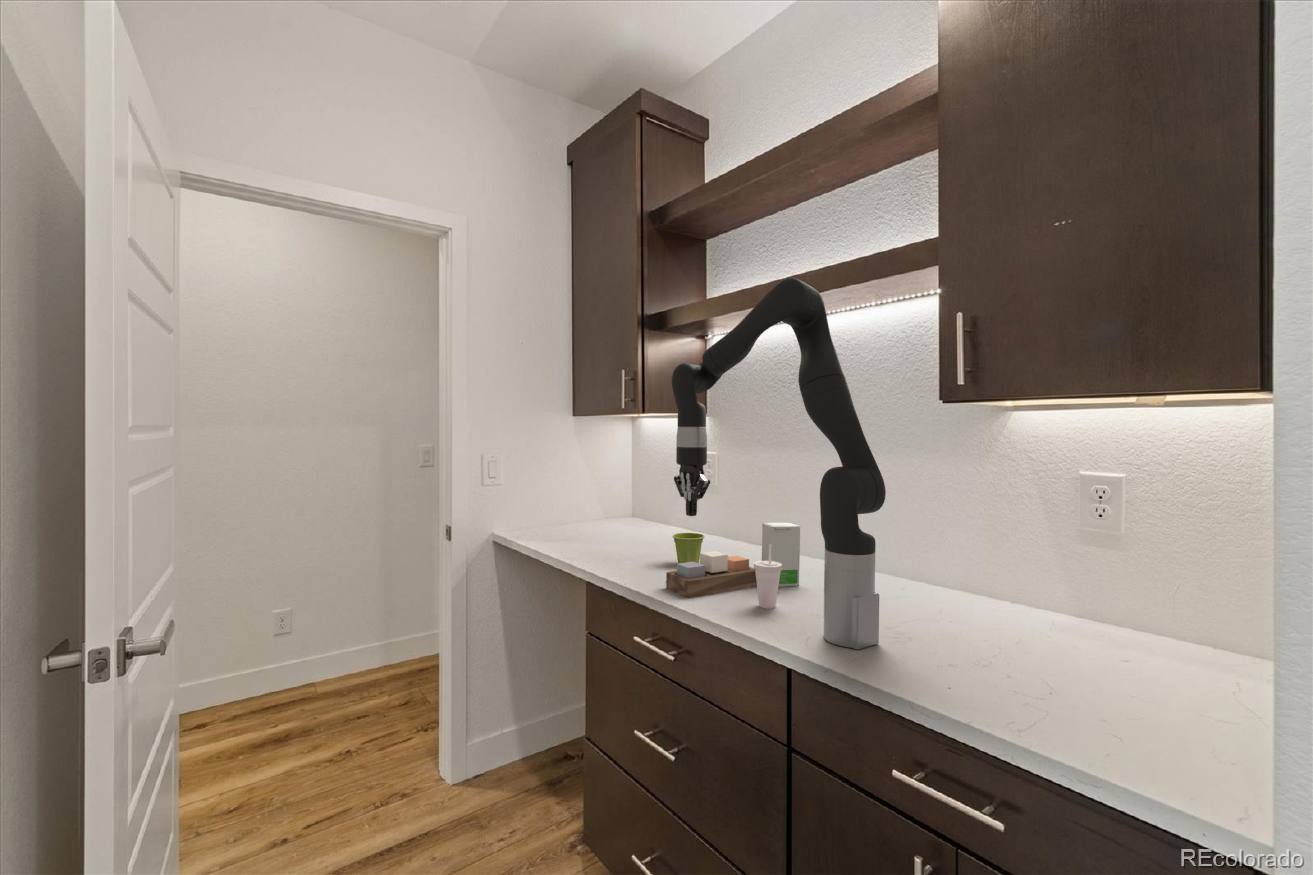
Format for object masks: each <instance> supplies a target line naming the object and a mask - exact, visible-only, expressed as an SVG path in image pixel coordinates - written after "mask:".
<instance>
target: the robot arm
mask: <svg viewBox="0 0 1313 875" xmlns="http://www.w3.org/2000/svg"><path fill="white" fill-rule="evenodd" d="M828 321H829V320H828V317H827V311H826V305H825V302H824V300H823V296H822V295H821V294H820V292H819V291H818V290H817V289H816V288H814V287H813V286H811V285H809V284H808V283H806V282H804V281H803V280H800V279H798V278H795V277H789V278H785V279H782V280H781V281H780V282H778V283H777V284H775V285H774V286H773V287H772V288H771V289H770V290H769V292H767V293H766V294H765V296H763V297H762V299H761V300H760V301H759V302H757V304H756V305H755V306H754V307H753V308H752V309H751V310H750V311H749V312H748V313H747V314H746V316H745V317H744V318H743V319H742V320H741V321H740V322H738V324H737V325H736V326H735V327H734V328H733V329H731V331H729V332H728V333H727V334H725V335H724V336H723V337H721V338H720V339H719V340H718V341H716V342H714V344H712V345H711V346H710V347H708V348H707V349H706V350H705V351H704V352H703V353H702V357H701V360H702V361H701V363H699V364H692V363H687V362H686V363H680V364H678V365H676V367H675V368H674V370H673V372H672V376H671V387H672V388H671V389H672V393H673V396H674V398H673V399H674V401H675V406H676V408H677V409H676V410H677V431H676V445H675V446H676V448H675V449H676V454H675V456H676V457H675V458H676V459H675V462H676V464H677V465H679V466H680V467H679V469H678V471H679V474H678V475H675V476H673V481H674V483H675V486H676V489H677V491H678V493H679V496H680V498H683V499H684V501H685V515H686V516H688V517H696V516H697V513H698V501H699V500H701V499H702V500H703V498H704V496H705V494H706V492H707V491H708V489H709V486H710V484H711V480H710V478H706V477H705V471H704V466H706V465H707V463H708V434H707V409H706V406H705V405H704V404H703V403H701V402H700V401H699V400H698V396H697V394H703V393H705V392H708V391H709V390H710V389H712V388H713V387H714V386H715V384H716V383H717V382H718V381H720V379H721V378H722V377H723V375H724V374H725V373H726V372H728V371H730V370H731V369H732V368H734V367H735V366H737V365H738V364H739V363H741V362H742V361H743V360H745V358H747V356H748V355H749V354H750V352H751V351H752V349H753V347H754V346H755V344H756V343H757V340H758V339H759V338H760V337H761V336H762V334H763V333H765V331H767V330H769V329H770V328H772V327H774V326H775V325H777V324H778V323H781V322H782V323H784V324H787V325H788V326H790V327H791V328H792V331H793V332H794V335H795V337H796V341H797V342H798V346H799V351H800V363H799V370H798V385H799V387H798V388H799V391H800V395H801V398H802V402H803V404H804V408H805V411H806V413H807V414H808V417H809V418H810V420H811V421H812V422H813V423H814V425H815V426H816V427H817V428H818V430H820V432H821V433H822V434H823V436H825V437H826V438H827V439H828V441H829V442H830V443H831V445H832V446H833V447H834V449H835V451H836V453H837V455H838V458H839V461H840V463H841V466H834V467H831V468H829V469H828V470H826V471H825V472H824V474H823V475H822V478H821V482H820V486H819V506H820V511H819V513H820V531H821V534H822V537H823V541H824V569H823V570H824V571H823V572H824V573H823V574H824V576H823V579H824V580H823V586H824V587H823V638H824V640H826V641H827V642H828V643H830V644H833V645H835V646H840V647H844V648H850V649H851V648H852V649H854V650H861V649H864V648H868V647H871V646H875V645H878V644H879V643H880V639H879V637H880V594H879V593H878V592H876V586H875V585H876V538H875V537H874V535H872V534H870V533H867V532H865V531H863V530H862V529H861V528H860V523H859V515H865V514H873V513H876V512H878V511H880V510H881V508H883V505H884V503H885V501H886V485H885V481H884V478H883V475H882V473H881V470H880V468H879V466H878V464H877V461H876V458H875V456H874V455H873V452H872V451H871V448H870V445H869V444H868V441H867V438H866V436H865V433H864V430H863V429H862V426H861V425H862V424H861V423H860V419H859V417H858V415H857V411H856V408H855V405H854V403H853V398H852V394H851V391H850V388H849V386H848V383H847V379H846V376H845V374H844V371H843V368H842V365H841V362H840V360H839V356H838V354H837V351H836V347H835V345H834V342H833V340H832V334H831V332H830V326H829V322H828Z"/></svg>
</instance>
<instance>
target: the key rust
mask: <svg viewBox="0 0 1313 875" xmlns="http://www.w3.org/2000/svg"><path fill="white" fill-rule="evenodd" d="M749 567H750V559H749V558H746V557H744V556H739V555H733V556H728V570H729V571H732V572H736V571H743V570H749Z"/></svg>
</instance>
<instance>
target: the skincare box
mask: <svg viewBox="0 0 1313 875" xmlns="http://www.w3.org/2000/svg"><path fill="white" fill-rule="evenodd" d="M761 525H762V526H761V527H762V531H761V532H762V536H761V537H762V538H761V561H769V545H772V550H771V561H775V562H779V563H781V564H782V570H781V571H780V578H779V586H778V588H779V587H780V588H781V587H799V586H800V561H801V560H800V556H801V555H800V553H801V552H800V551H801V550H800V549H801V525H798V524H794V523H791V522H762V523H761Z"/></svg>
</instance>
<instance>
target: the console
mask: <svg viewBox="0 0 1313 875" xmlns="http://www.w3.org/2000/svg"><path fill="white" fill-rule="evenodd" d="M665 578H666V579H665V580H666V581H665V584H666V585H665V587H666V589H668V590H670V591H672V592H674V593H675V594H678V595H681V596H684V597H685V598H688V599H692V598H697V597H703V596H709V595H714V594H721V593H726V592H732V591H737V590H744V589H749V588H755V587H757V581H756V572H755V568H754V567H751V566H749V570H743V571H736V572H732V571H729V570H728V571H721V572H714V573H710V572H708V571H705V576H704V577H697V578H691V579H686V578H684V577H681V576H679V575H677V570H673V571H672V570H671V571H666V574H665Z"/></svg>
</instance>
